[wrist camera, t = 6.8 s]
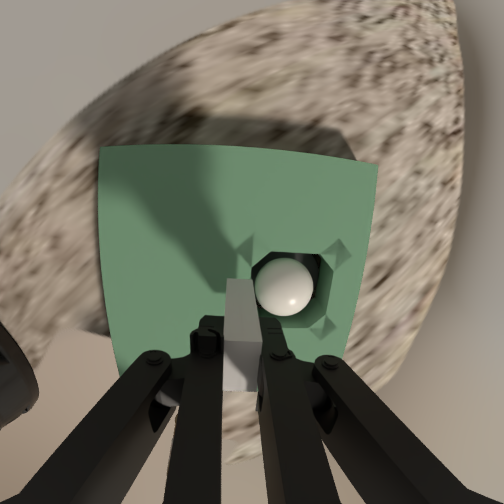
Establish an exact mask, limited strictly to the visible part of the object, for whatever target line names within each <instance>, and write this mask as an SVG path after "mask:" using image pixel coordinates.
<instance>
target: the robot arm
mask: <svg viewBox="0 0 504 504" xmlns="http://www.w3.org/2000/svg"><path fill="white" fill-rule="evenodd" d="M257 386H258V396H257V403H256V411H258V414H259V424H260V433H261V443H262V452H263V461H264V469H265V479H266V488H267V496H268V504H342V503H341V502H340V499H339V496H338V493H337V489H336V486H335V483H334V480H333V476H332V473H331V469H330V466H329V463H328V459H327V456H326V453H325V449H324V446H323V443H322V441H323V442H324V444H325V445H326V446H327V448H328V450H329V451H330V453H331V454H332V456H333V457H334V458H335V460H336V461H337V463H338V465H339V466H340V467H341V469H342V470H343V472H344V473H345V475H346V476H347V478H348V479H349V480H350V482H351V483H352V485H353V486H354V488H355V489H356V490H357V492H358V493H359V495H360V496H361V497H362V499H363V500H364V502H365V503H366V504H503V503H500V502H498V501H495V500H493V499H490V498H488V497H485V496H483V495H481V494H478V493H476V492H474V491H471V490H469V489H467V488H466V487H465V486H464V485H463V484H462V483H461V482H460V481H459V480H458V479H457V478H456V477H455V476H454V475H453V474H452V473H451V472H450V471H449V470H448V469H447V468H446V467H445V466H444V465H443V464H442V462H441V461H439V460H438V459H437V457H436V456H435V455H434V454H433V453H432V452H431V451H430V450H429V449H428V448H427V447H426V446H425V445H424V444H423V443H422V442H421V441H420V440H419V439H418V438H417V437H416V436H415V435H414V434H413V433H412V432H411V431H410V429H408V427H407V426H406V425H405V424H404V423H403V422H402V421H401V420H400V419H399V418H398V417H397V416H396V415H395V414H394V413H393V412H392V411H391V410H390V409H389V408H388V407H387V406H386V405H385V403H384V402H383V401H382V400H381V399H380V398H379V397H378V396H377V395H376V394H375V393H374V392H373V391H372V390H371V389H370V388H369V387H368V386H367V385H366V384H365V383H364V381H363V380H362V379H361V378H360V377H359V376H358V375H357V374H356V373H355V372H354V371H353V370H352V369H351V368H350V367H349V366H348V365H347V364H346V363H345V361H343V360H342V359H341V358H339V357H337V356H334V355H321V356H319V357H317V358H316V359H315V362H314V363H312V362H307V361H302V360H299V359H297V358H296V356H295V354H294V353H293V351H291V350H290V349H288V346H287V343H286V339H285V336H284V333H283V329H282V326H281V323H280V322H279V321H278V320H277V319H276V318H275V317H258V311H257V305H256V299H255V293H254V287H253V281H252V279H232V278H227V285H226V300H225V316H214V315H204V316H203V317H202V318H201V319H200V321H199V327H198V328H197V329H195V330H193V331H192V332H191V333H190V354H188V355H186V356H184V357H180V358H172V359H171V357H170V355H169V354H168V353H167V352H164V351H162V350H148V351H145V352H143V353H142V354H141V355H139V356H138V358H137V359H136V360H135V361H134V362H133V363H132V364H131V365H130V366H129V368H128V369H127V370H126V371H125V372H124V373H123V374H122V375H121V377H120V378H119V379H118V380H117V381H116V382H115V383H114V385H113V386H112V387H111V388H110V389H109V390H108V391H107V392H106V393H105V395H104V396H103V397H102V398H101V399H100V400H99V401H98V402H97V404H96V405H95V406H94V407H93V408H92V409H91V410H90V411H89V413H88V414H87V415H86V416H85V417H84V418H83V419H82V421H81V422H80V423H79V424H78V425H77V426H76V427H75V429H74V430H73V431H72V432H71V433H70V434H69V436H68V437H67V438H66V439H65V440H64V441H63V442H62V444H61V445H60V446H59V447H58V448H57V449H56V450H55V452H54V453H53V454H52V455H51V456H50V457H49V459H48V460H47V461H46V462H45V463H44V464H43V466H42V467H41V468H40V469H39V470H38V472H37V473H36V474H35V475H34V476H33V477H32V479H31V480H30V481H29V482H28V483H27V485H26V486H25V487H24V488H23V489H22V491H21V492H20V493H19V494H17V495H15V496H13V497H11V498H9V499H7V500H5V501H2V502H0V504H121V502H122V500H123V499H124V497H125V496H126V494H127V492H128V491H129V489H130V487H131V486H132V484H133V482H134V480H135V479H136V477H137V475H138V473H139V472H140V470H141V468H142V467H143V465H144V463H145V462H146V460H147V458H148V456H149V455H150V453H151V451H152V449H153V448H154V446H155V444H156V443H157V441H158V439H159V438H160V436H161V434H162V432H163V430H164V429H165V427H166V425H167V423H168V422H169V420H170V418H171V417H172V415H173V413H174V411H175V409H176V406H179V410H178V416H177V421H176V427H175V432H174V438H173V444H172V450H171V456H170V462H169V468H168V474H167V481H166V487H165V494H164V501H163V504H221V450H222V401H223V391H247V392H257ZM38 397H39V388H38V383H37V380H36V378H35V375H34V373H33V371H32V369H31V367H30V365H29V363H28V361H27V360H26V358H25V356H24V355H23V353H22V352H21V350H20V349H19V347H18V346H17V344H16V343H15V342H14V340H13V339H12V338H11V337H10V335H9V334H8V333H7V332H6V331H5V330H4V328H3V327H2V326H1V325H0V430H1V429H2V428H3V427H4V426H5V425H7V424H9V423H10V422H12V421H13V420H15V419H16V418H18V417H19V416H20V415H21V414H24V413H26V412H28V411H29V410H30V409H31V408H32V407H33V405H34V404H35V403H36V401H37V400H38ZM321 439H322V440H321Z"/></svg>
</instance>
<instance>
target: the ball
mask: <svg viewBox="0 0 504 504" xmlns="http://www.w3.org/2000/svg"><path fill="white" fill-rule="evenodd" d="M312 292H313V281H312V277H311V275H310V273H309V271H308V270H307V268H306V267H305V266H304V265H303V264H301V263H300V262H298V261H296V260H294V259H291V258H278V259H274V260H272V261H270V262H268V263H267V264H265V265H264V266H263V267H262V268H261V270H260V271H259V273H258V275H257V277H256V280H255V294H256V297H257V300H258V301H259V303H260V305H261V306H262V307H263V308H264V309H265V310H267V311H268V312H270V313H272V314H274V315H278V316H289V315H293V314H295V313H298V312H299V311H301V310H302V309H303V308H304V307H305V306H306V305H307V304H308V302H309V301H310V299H311V296H312Z"/></svg>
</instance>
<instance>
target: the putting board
mask: <svg viewBox="0 0 504 504" xmlns="http://www.w3.org/2000/svg"><path fill="white" fill-rule="evenodd" d="M377 173H378V165H375V164H370V163H365V162H360V161H355V160H349V159H343V158H337V157H331V156H324V155H317V154H310V153H303V152H294V151H286V150H276V149H266V148H254V147H241V146H224V145H198V144H146V145H121V146H105V147H100V153H99V173H98V226H99V246H100V260H101V271H102V281H103V289H104V297H105V304H106V311H107V317H108V323H109V329H110V334H111V340H112V345H113V349H114V354H115V358H116V362H117V367H118V371H119V375H120V377H121V375H122V374H123V373H124V372H125V371H126V370H127V369H128V368H129V366H130V365H131V364H132V363H133V362H134V361H135V360H136V359H137V358H138V356H139V355H141V354H142V353H143V352H145V351H148V350H162V351H164V352H167V353H168V354H169V355H170V357H171V359H172V358H180V357H184V356H186V355H188V354H190V333H191V332H192V331H193V330H195V329H197V328H198V327H199V321H200V319H201V318H202V317H203V316H204V315H214V316H225V300H226V285H227V278H232V279H252V281H253V287H254V293H255V280H256V277H257V275H258V273H259V271H260V270H261V268H262V267H263V266H264V265H265V264H267V263H268V262H270V261H272V260H274V259H278V258H291V259H294V260H296V261H298V262H300V263H301V264H303V265H304V266H305V267H306V268H307V270H308V271H309V273H310V275H311V277H312V281H313V291H314V290H315V288H316V285H317V288H316V294H315V297H314V298H313V299H312V300H310V301H309V302H308V304H307V305H306V306H305V307H304V308H303V309H302V310H301V311H299V312H298V313H295V314H293V315H289V316H278V315H274V314H272V313H270V312H268V311H267V310H265V309H264V308H259V307H258V306H257V311H258V317H275V318H276V319H277V320H278V321H279V322H280V323H281V326H282V329H283V333H284V336H285V339H286V343H287V346H288V349H290V350H291V351H293V353H294V354H295V356H296V358H297V359H299V360H302V361H307V362H312V363H314V362H315V359H316V358H317V357H319V356H321V355H334V356H337V357H339V358H341V359H342V357H343V354H344V350H345V347H346V343H347V339H348V336H349V332H350V328H351V324H352V320H353V316H354V312H355V308H356V304H357V299H358V295H359V290H360V286H361V281H362V276H363V271H364V266H365V260H366V255H367V249H368V243H369V237H370V231H371V224H372V217H373V210H374V202H375V193H376V183H377ZM312 254H318V255H319V256H320V257H321V262H320V269H319V273H318V266H317V263H316V261H315V259H314V257H313V256H312ZM312 293H313V292H312ZM255 298H256V299H257V297H256V294H255ZM257 391H258V386H257Z"/></svg>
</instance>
